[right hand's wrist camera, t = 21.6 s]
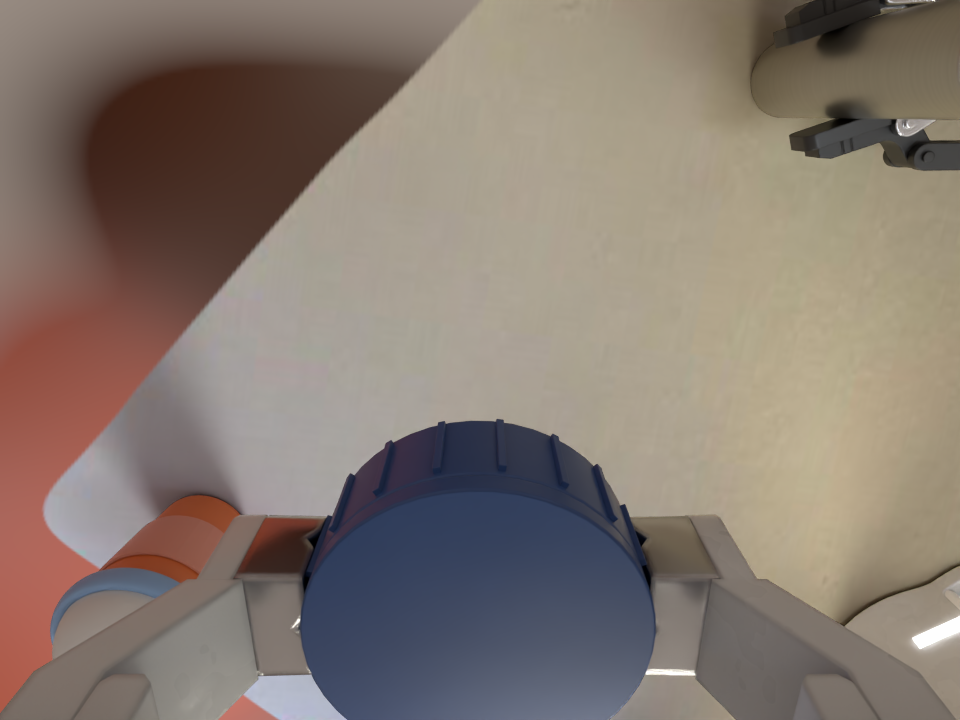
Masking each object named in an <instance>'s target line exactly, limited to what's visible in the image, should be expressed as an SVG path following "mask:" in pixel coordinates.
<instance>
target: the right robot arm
mask: <svg viewBox="0 0 960 720" xmlns="http://www.w3.org/2000/svg"><path fill="white" fill-rule="evenodd" d="M326 518H327V516H289V515H269V516H267V515H239V516H237V517H235V518H234V519H233V520H232V522H231V523H230V525H229V527H228V528H227V530H226V531H225V533H224V535H223V536H222V538H221V540H220V541H219V543H218V545H217V546H216V548H215V549H214V551H213V553H212V554H211V556H210V558H209V559H208V561H207V563H206V564H205V566H204V567H203V569H202V571H201V572H200V574H199V576H198V577H197V579H187V580H185V581H183V582H182V583H180V584H178V585H177V586H175V587H173V588H172V589H170V590H168V591H167V592H165V593H163V594H162V595H160V596H158V597H157V598H155V599H153V600H152V601H150V602H148V603H147V604H145V605H143V606H142V607H140V608H138V609H137V610H135V611H133V612H132V613H130V614H128V615H127V616H125V617H123V618H122V619H120V620H118V621H117V622H115V623H113V624H112V625H110V626H108V627H107V628H105V629H104V630H102V631H100V632H99V633H97V634H95V635H94V636H92V637H90V638H89V639H87V640H85V641H84V642H82V643H80V644H79V645H77V646H75V647H74V648H72V649H70V650H69V651H67V652H65V653H64V654H62V655H60V656H59V657H57V658H55V659H54V660H52V661H50V662H49V663H47V664H45V665H44V666H42V667H40V668H39V669H37V670H35V671H34V672H33V673H32V674H31V676H30V677H29V678H28V679H27V681H26V682H25V683H24V684H23V686H22V687H21V688H20V689H19V691H18V692H17V693H16V694H15V696H14V697H13V698H12V699H11V701H10V702H9V703H8V704H7V706H6V707H5V708H4V709H3V711H2V712H1V713H0V720H218V719H219V718H220V717H221V716H222V715H223V714H224V713H225V712H226V711H227V710H228V709H229V708H230V707H231V706H232V705H233V704H234V703H235V702H236V701H237V700H238V699H239V698H240V697H241V696H242V695H243V694H244V693H245V692H246V691H247V690H248V689H249V688H250V687H251V686H252V685H253V684H254V683H255V682H256V681H257V680H258V676H277V675H312V674H311V672H310V670H309V668H308V666H307V663H306V659H305V656H304V652H303V648H302V643H301V634H300V616H301V607H302V602H303V598H304V594H305V590H306V587H307V585H308V582H309V579H310V578H309V577H306V571H307V568H308V566H309V563H310V560H311V558H312V555H313V553H314V550H315V547H316V545H317V542H318V539H319V537H320V534H321V531H322V529H323V526H324V523H325V521H326ZM630 519H631V521H632V524H633V527H634V530H635V532H636V535H637V538H638V541H639V543H640V546H641V549H642V551H643V554H644V557H645V560H646V562H647V565H644V566H642V569H643V572H644V575H645V578H646V581H647V583H648V586H649V589H650V592H651V595H652V598H653V604H654V609H655V614H656V635H655V641H654V648H653V653H652V656H651V659H650V662H649V665H648V668H647V671H646V673H645V675H676V676H696V680H697V681H698V682H699V683H700V684H701V685H702V686H703V687H704V688H705V689H706V690H707V691H708V692H709V693H710V694H711V695H712V696H713V697H714V698H715V699H716V700H717V701H718V702H719V703H720V704H721V705H722V706H723V707H724V708H725V709H726V710H727V711H728V712H729V713H730V714H731V715H732V716H733V717H734V718H735V719H736V720H960V566H958V567H956V568H954V569H952V570H950V571H949V572H947V573H945V574H944V575H942V576H941V577H939V578H937V579H936V580H934V581H933V582H931V583H929V584H927V585H925V586H922V587H919V588H915V589H912V590H908V591H905V592H901V593H898V594H895V595H893V596H890V597H888V598H885V599H883V600H881V601H879V602H877V603H875V604H873V605H872V606H870V607H868V608H867V609H865V610H864V611H862V612H861V613H859V614H858V615H857V616H855V617H854V618H853V619H852V620H851V621H850V622H849V623H848V624H846V625H845V626H843V625H841V624H839V623H838V622H836V621H834V620H833V619H831V618H829V617H828V616H826V615H824V614H823V613H821V612H819V611H818V610H816V609H815V608H813V607H811V606H810V605H808V604H806V603H805V602H803V601H801V600H800V599H798V598H796V597H795V596H793V595H792V594H790V593H788V592H787V591H785V590H783V589H782V588H780V587H778V586H777V585H775V584H773V583H772V582H770V581H769V580H767V579H757V578H756V576H755V575H754V573H753V571H752V570H751V568H750V566H749V565H748V563H747V561H746V560H745V558H744V556H743V555H742V553H741V551H740V550H739V548H738V546H737V545H736V543H735V541H734V540H733V538H732V536H731V535H730V533H729V532H728V530H727V528H726V527H725V525H724V523H723V522H722V520H721V518H720V517H718V516H717V515H687V516H668V517H630Z"/></svg>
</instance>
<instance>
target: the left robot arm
mask: <svg viewBox="0 0 960 720" xmlns="http://www.w3.org/2000/svg"><path fill="white" fill-rule="evenodd" d="M936 1H940V0H815V1H812V2H809V3H806V4H804V5H801V6H798V7H795V8H794V9H793V10H792V11H791V12H789V13H788V14H787V15H786V16H785V21H786V28H784V29H782V30H779V31H776V32H774V33H773V34H774V40H775V47H776V48H780V47H784V46H789V45H793V44H796V43H799V42H802V41H805V40H808V39H810V38H813V37H816V36H819V35H822V34H824V33H827V32H830V31H833V30H836V29H838V28H841V27H844V26H847V25H850V24H853V23H855V22H857V21H860V20H863V19H867V18H869V17H872V16H875V15H878V14H881V12H880V11H885V10H903V9H908V8H912V7H916V6H920V5H924V4H928V3H932V2H936ZM935 121H936V120H924V119H848V118H836V119H833V120H830V121H827V122H824V123H821V124H818V125H816V126H813V127H810V128H807V129H804V130H801V131H798V132H795V133H793V134H790V135H789V138H790V144H791V150H795V151H804V152H805V156H809V157H816V158H830V159H831V158H834V157H837V156H840V155H843V154H846V153H849V152H852V151H855V150H858V149H861V148H864V147H867V146H870V145H873V144H876V143H880V144H881V145H882V147H883V148H884V150H885V151H884V154H883V159H884V162H885V163H886V164H887V165H888V166H892V167H908V168H913V169H915V170H924V171H927V170H960V140H940V141H929V139H928V137H927V135H926V133H925V131H924V128H925V127H927V126H928V125H930V124H932V123H933V122H935Z"/></svg>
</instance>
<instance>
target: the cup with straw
mask: <svg viewBox="0 0 960 720" xmlns="http://www.w3.org/2000/svg"><path fill="white" fill-rule="evenodd" d="M239 515H240V514H239V513H238V512H237V511H236V510H235V509H234V508H233V507H232V506H230V505H229V504H227V503H226V502H224V501H222V500H219V499H217V498H214V497H210V496H203V495H194V496H188V497H184V498H182V499H179V500H177V501H176V502H174V503H173V504H171V505H170V506H169V507H168V508H167V509H166V510H165V511H164V512H163V513H162V514H161V515H160V516H159V517H158V518H157V519H156V520H154V521H152V522H150V523H148V524H147V525H146V526H145V527H143V528H142V529H141V530H140V531H139V532H138V533H137V534H136V535H135V536H134V537H133V538H132V539H131V540H130V541H129V542H128V543H127V544H126V545H125V546H123V547H122V548H121V549H120V550H119V551H118V552H117V553H116V554H115V555H114V556H113V557H112V558H111V559H110V560H109V561H108V562H107V563H106V564H105V565H104V566H103V567H102V568H101V569H100V570H99V571H98V572H96V573H93V574H91V575H89V576H87V577H85V578H83V579H81V580H80V581H78V582H77V583H75V584H74V585H73V586H72V587H71V588H70V589H69V590H68V591H67V592H66V593H65V594H64V595H63V597H62V598H61V599H60V601H59V602H58V604H57V606H56V608H55V610H54V613H53V616H52V620H51V628H50V633H51V641H52V645H53V650H52V656H53V660H54V659H55V658H57V657H59V656H60V655H62V654H64V653H65V652H67V651H69V650H70V649H72V648H74V647H75V646H77V645H79V644H80V643H82V642H84V641H85V640H87V639H89V638H90V637H92V636H94V635H95V634H97V633H99V632H100V631H102V630H104V629H105V628H107V627H108V626H110V625H112V624H113V623H115V622H117V621H118V620H120V619H122V618H123V617H125V616H127V615H128V614H130V613H132V612H133V611H135V610H137V609H138V608H140V607H142V606H143V605H145V604H147V603H148V602H150V601H152V600H153V599H155V598H157V597H158V596H160V595H162V594H163V593H165V592H167V591H168V590H170V589H172V588H173V587H175V586H177V585H178V584H180V583H182V582H183V581H185V580H187V579H197V577H198V576H199V574H200V572H201V571H202V569H203V567H204V566H205V564H206V563H207V561H208V559H209V558H210V556H211V554H212V553H213V551H214V549H215V548H216V546H217V545H218V543H219V541H220V540H221V538H222V536H223V535H224V533H225V531H226V530H227V528H228V527H229V525H230V523H231V522H232V520H233V519H234V518H235V517H237V516H239Z"/></svg>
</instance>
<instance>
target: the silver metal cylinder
mask: <svg viewBox="0 0 960 720" xmlns="http://www.w3.org/2000/svg"><path fill="white" fill-rule="evenodd" d="M751 91H752V96H753V98H754V101H755V102H756V104H757V106H758V107H759V108H760V109H761V110H762V111H763V112H765V113H766V114H768V115H770V116H773V117H778V118H848V119H924V120H960V0H940V1H936V2H932V3H928V4H924V5H920V6H916V7H912V8H908V9H903V10H899V11H895V12H891V13H887V14H883V15H879V16H875V17H871V18H867V19H863V20H860V21H857V22H855V23H853V24H850V25H847V26H844V27H841V28H838V29H836V30H833V31H830V32H827V33H824V34H822V35H819V36H816V37H813V38H810V39H808V40H805V41H802V42H799V43H796V44H793V45H789V46H784V47H780V48H776V47H775V43H774V44H773V45H771V46H770V47H769V48H768V49H767V50H765V51H764V53H763V54H762V55H761V56H760V58H759V59H758V61H757V63H756V65H755V67H754V69H753V73H752V78H751Z"/></svg>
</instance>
